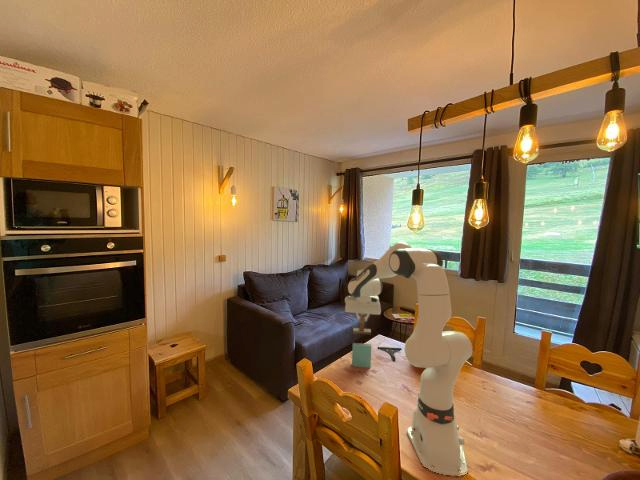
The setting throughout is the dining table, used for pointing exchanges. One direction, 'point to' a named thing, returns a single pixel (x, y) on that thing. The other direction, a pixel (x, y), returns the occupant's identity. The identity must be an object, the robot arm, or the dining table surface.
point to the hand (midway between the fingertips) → (362, 320)
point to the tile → (361, 355)
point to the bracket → (390, 351)
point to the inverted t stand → (362, 326)
